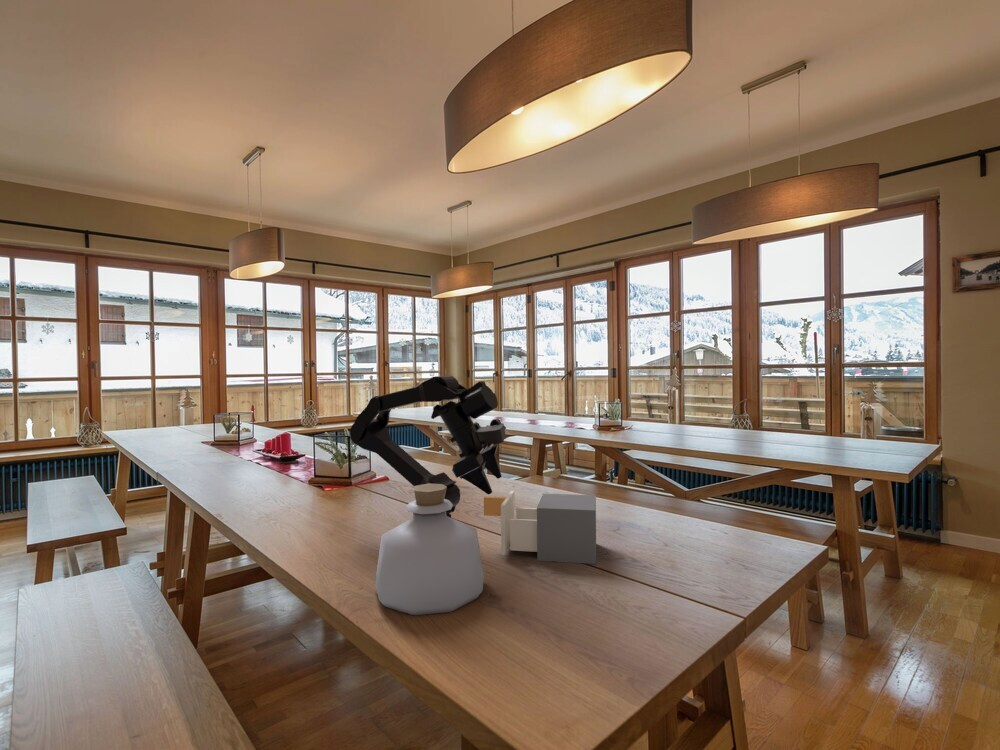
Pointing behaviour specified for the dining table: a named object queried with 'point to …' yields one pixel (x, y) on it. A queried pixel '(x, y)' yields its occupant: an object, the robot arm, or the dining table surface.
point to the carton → (566, 528)
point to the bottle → (429, 558)
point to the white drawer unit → (513, 523)
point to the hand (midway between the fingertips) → (495, 485)
